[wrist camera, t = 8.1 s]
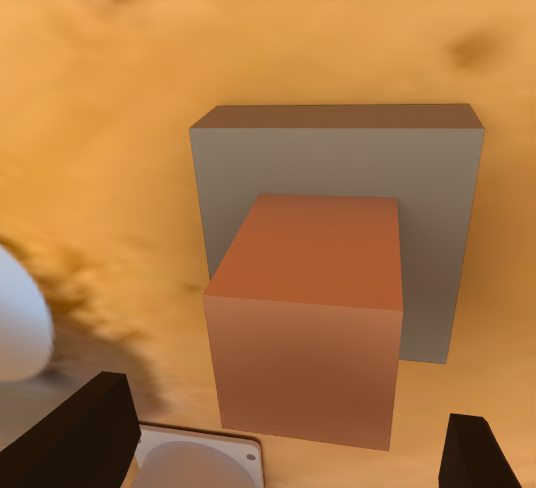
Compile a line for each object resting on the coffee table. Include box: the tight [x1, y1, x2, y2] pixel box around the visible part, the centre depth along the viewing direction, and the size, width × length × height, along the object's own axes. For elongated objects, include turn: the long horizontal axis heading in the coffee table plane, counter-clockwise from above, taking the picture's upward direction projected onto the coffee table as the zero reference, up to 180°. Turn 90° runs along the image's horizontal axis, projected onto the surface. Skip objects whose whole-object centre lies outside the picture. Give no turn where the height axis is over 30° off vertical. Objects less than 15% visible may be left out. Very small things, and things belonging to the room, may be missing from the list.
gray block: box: [189, 104, 485, 364], centre depth 18 cm, size 9×9×3 cm
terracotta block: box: [203, 193, 403, 451], centre depth 14 cm, size 4×4×6 cm
